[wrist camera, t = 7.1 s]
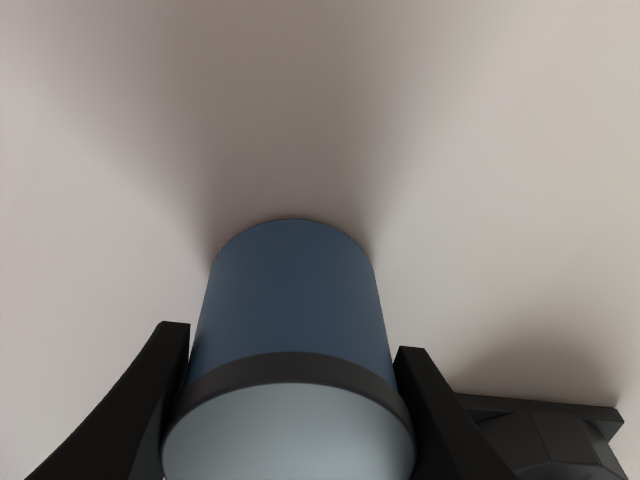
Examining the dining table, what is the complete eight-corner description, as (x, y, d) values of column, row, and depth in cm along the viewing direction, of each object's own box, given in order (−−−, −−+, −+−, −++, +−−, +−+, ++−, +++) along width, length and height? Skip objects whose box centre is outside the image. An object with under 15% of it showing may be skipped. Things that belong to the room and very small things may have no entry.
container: (199, 342, 15) (158, 527, 11) (208, 201, 13) (159, 366, 8) (359, 358, 16) (382, 539, 12) (400, 226, 13) (452, 394, 9)
